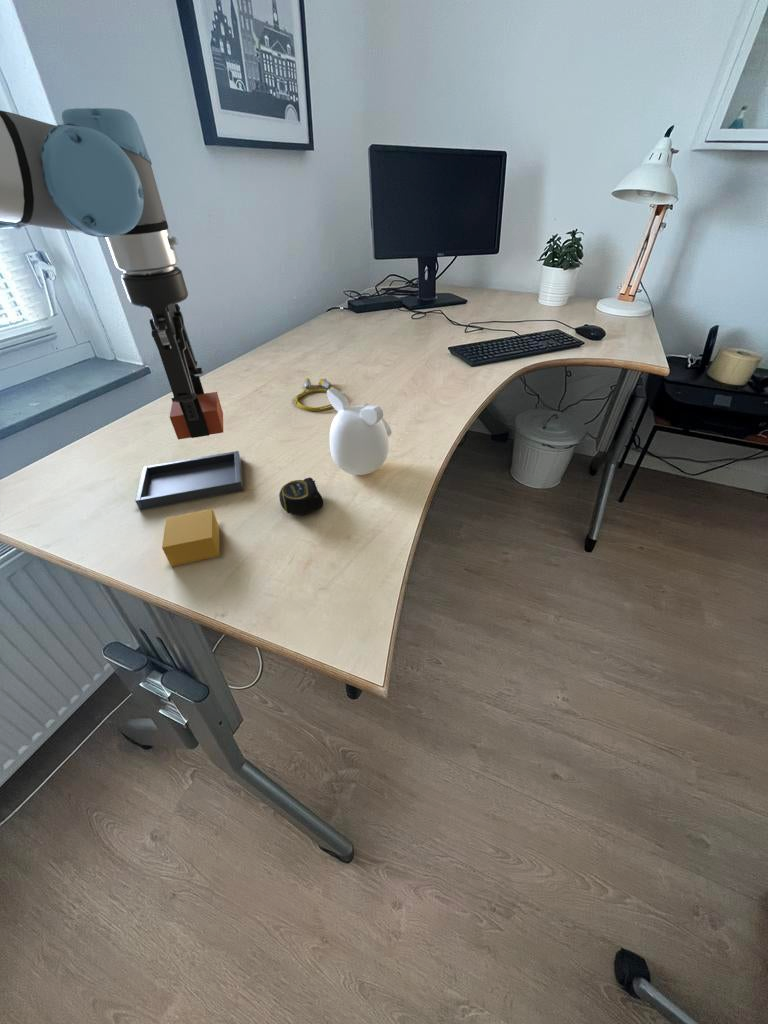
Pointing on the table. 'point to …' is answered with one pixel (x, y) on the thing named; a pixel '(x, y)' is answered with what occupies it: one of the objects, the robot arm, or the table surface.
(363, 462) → the white bunny figurine
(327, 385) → the coiled yellow cable
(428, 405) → the table surface
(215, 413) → the pad terracotta
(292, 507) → the tape measure
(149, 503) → the tray
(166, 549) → the pad mustard
